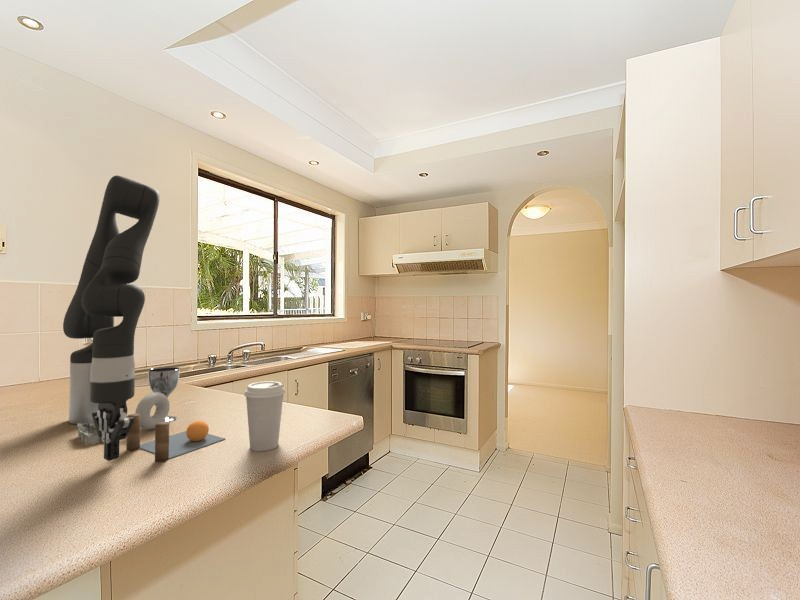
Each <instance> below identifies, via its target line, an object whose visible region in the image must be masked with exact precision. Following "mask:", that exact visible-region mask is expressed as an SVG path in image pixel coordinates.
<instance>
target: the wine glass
mask: <svg viewBox="0 0 800 600" xmlns="http://www.w3.org/2000/svg"><path fill="white" fill-rule="evenodd" d="M180 372H181V371H180V366H179V367H178V366H162V367H161V366H159V367H154V368H153V367H152V368H150V369H148V370H147V380H148V385H149V389H150V390H151V392H152V393H154V392H159V393H162V394H164V395H165V396H166V397H167V398H168V399H169V396H170V395H171V394H172V393H173V392H174V390H175V389H176V388H177V387H178V383H179V380H180ZM176 418H177V419H178V416H176V415H168V416H167V418H166V419H165V421H164V422H169V423H170V422H173V421H175V420H177V419H176Z"/></svg>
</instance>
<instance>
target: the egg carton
mask: <svg viewBox="0 0 800 600" xmlns="http://www.w3.org/2000/svg"><path fill="white" fill-rule="evenodd" d="M76 425H77V426H76V427H77V429H78V432H77V434H78V435H77V438H78V437H79V438H78V439H81V440H82V441H81V442H84V445H85V444H87V445H96V444H95V443H98V444H99V443H100V442H99V441H101V442H103V441H102V437H98V433H97V430H96V427H95V424H94V422H92V423H89V422H88V423H85V424H79V423H78V424H76ZM90 443H91V444H90Z"/></svg>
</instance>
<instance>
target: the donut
mask: <svg viewBox="0 0 800 600" xmlns="http://www.w3.org/2000/svg"><path fill="white" fill-rule="evenodd" d="M154 406H155V411H154V413H153V415H151V411H152V408H153V407H154ZM170 407H171V405H170V400H169V397H168V398H167V397H166V396H165V395H164V394H162V393H159V392H150V393H148V394H146V395H145V396H144V397H143V398H142V399H141V400H140V401H139V403H138V404H137V406H136V409H135V413H134V414H140V429H143V430H147V431H149V430H155V424H157V423H160V422H164V421H165V419H166V418H167V416H169V412H170V409H171V408H170Z"/></svg>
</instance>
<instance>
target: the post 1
mask: <svg viewBox="0 0 800 600" xmlns="http://www.w3.org/2000/svg"><path fill="white" fill-rule="evenodd" d="M127 417H128V418H131V417H133V419H134V422H133V424H132V426H131V428H130V430H129V432H128V434H127V436H126V443H125V444H126V445H125V446H126V447H125V448H126V451H127V452H134V451H138V450H139V449H140V445H141V427H140V414H135V413H131V414H127Z"/></svg>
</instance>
